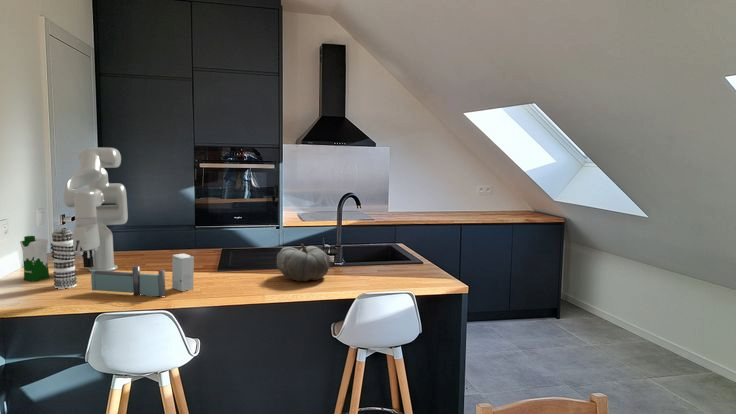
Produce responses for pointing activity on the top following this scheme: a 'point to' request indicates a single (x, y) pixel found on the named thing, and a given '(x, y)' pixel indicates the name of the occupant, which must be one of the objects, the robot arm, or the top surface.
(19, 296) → the top surface
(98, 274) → the gate
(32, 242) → the milk carton
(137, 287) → the hinge post
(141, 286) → the fence panel
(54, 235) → the black and white bottle
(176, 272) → the skincare box
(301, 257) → the gourd
